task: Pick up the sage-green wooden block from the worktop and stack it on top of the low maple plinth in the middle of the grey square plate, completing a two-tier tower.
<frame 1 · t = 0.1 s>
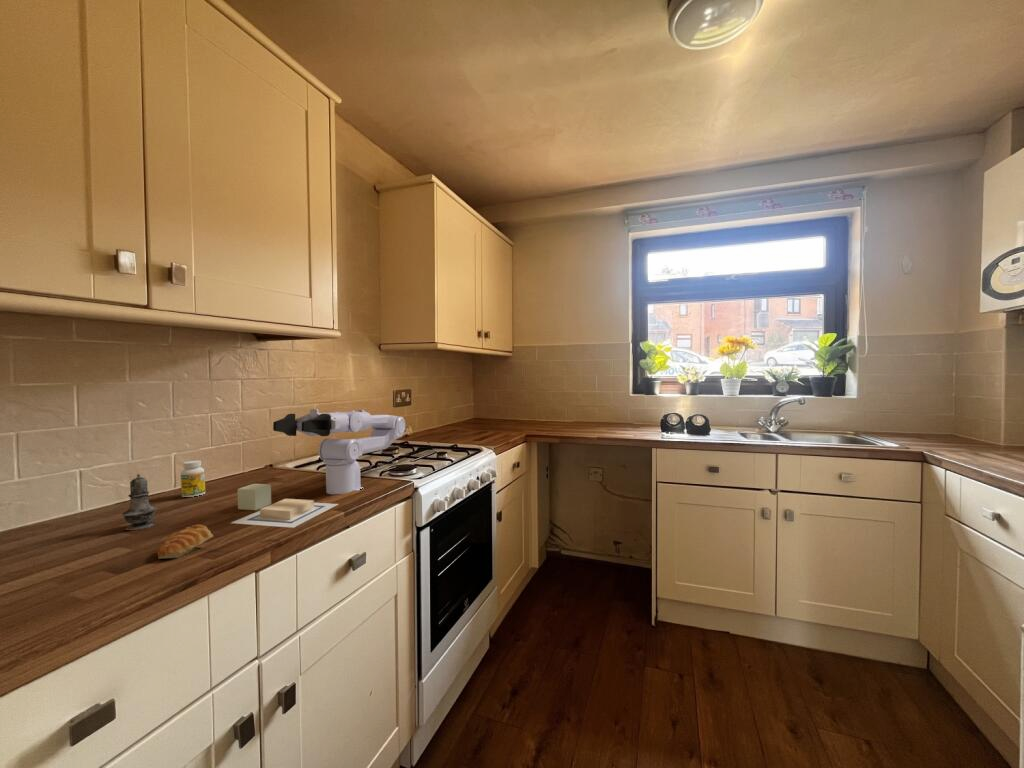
hand: (288, 426, 97), 22 cm above the worktop, tool horizontal, fingers open, 7 cm apart
pastry: (186, 550, 81), on the worktop
sage block: (255, 510, 103), on the worktop
supplement bottle: (193, 496, 117), on the worktop
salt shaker: (140, 527, 93), on the worktop
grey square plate: (288, 517, 98), on the worktop
maple plinth: (287, 512, 98), resting on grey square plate
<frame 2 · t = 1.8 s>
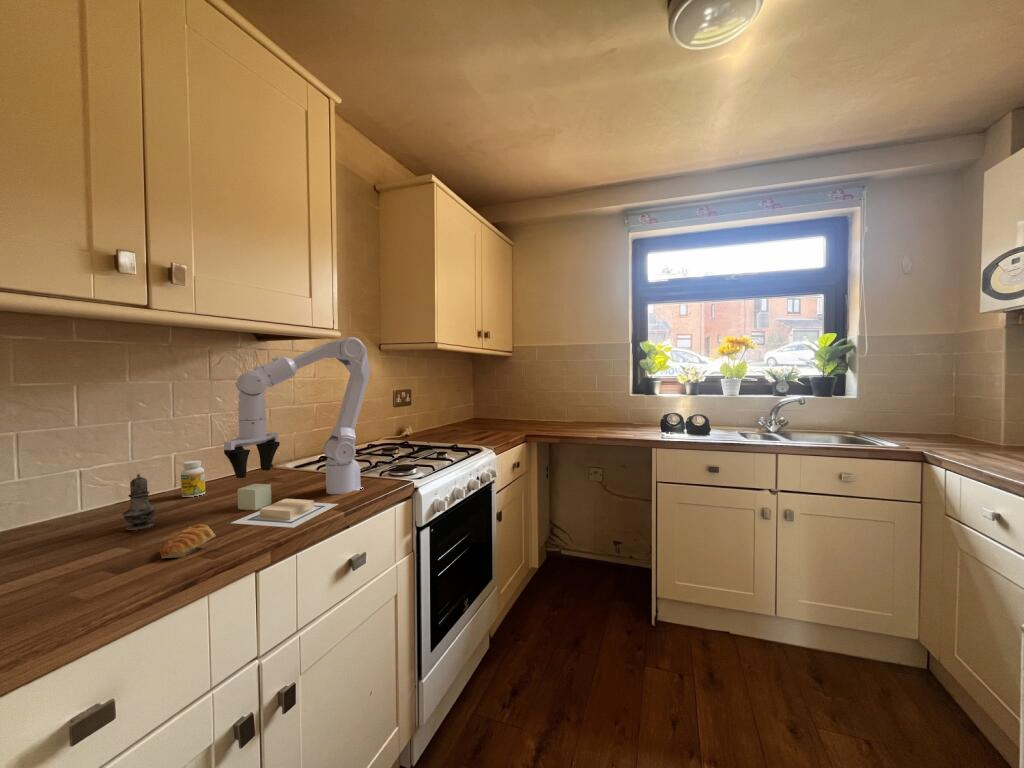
hand: (253, 473, 103), 9 cm above the worktop, tool pointing down, fingers open, 7 cm apart
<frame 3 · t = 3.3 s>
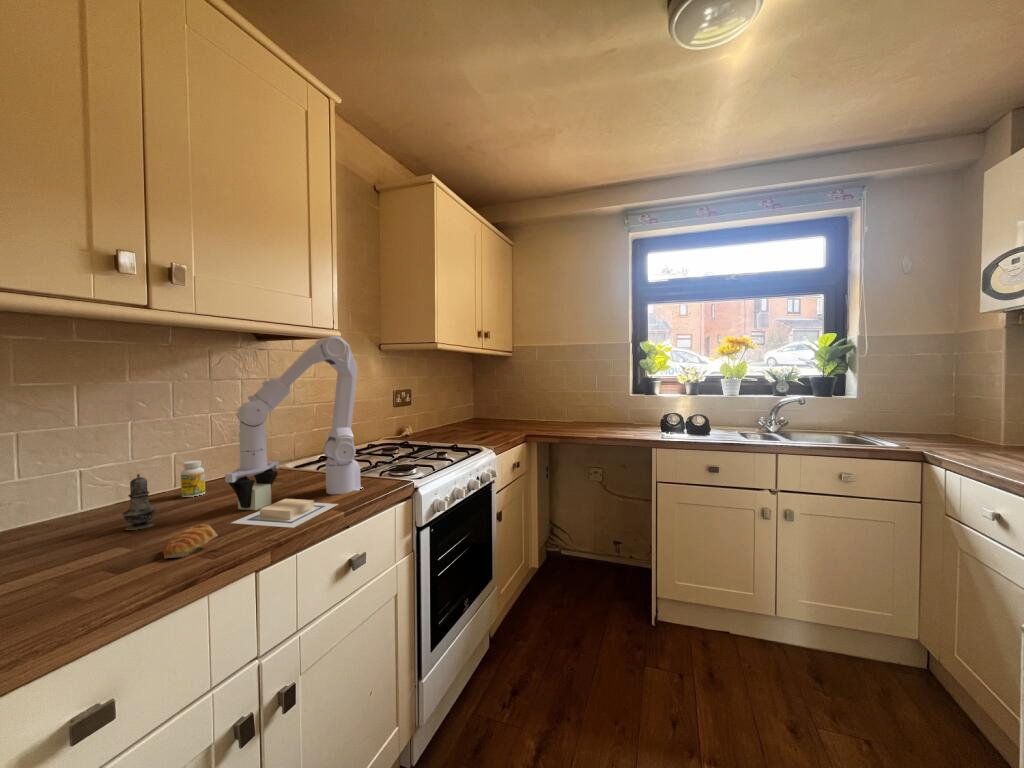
hand: (254, 503, 103), 2 cm above the worktop, tool pointing down, fingers closed on sage block, 5 cm apart
sage block: (255, 510, 103), on the worktop, touching gripper
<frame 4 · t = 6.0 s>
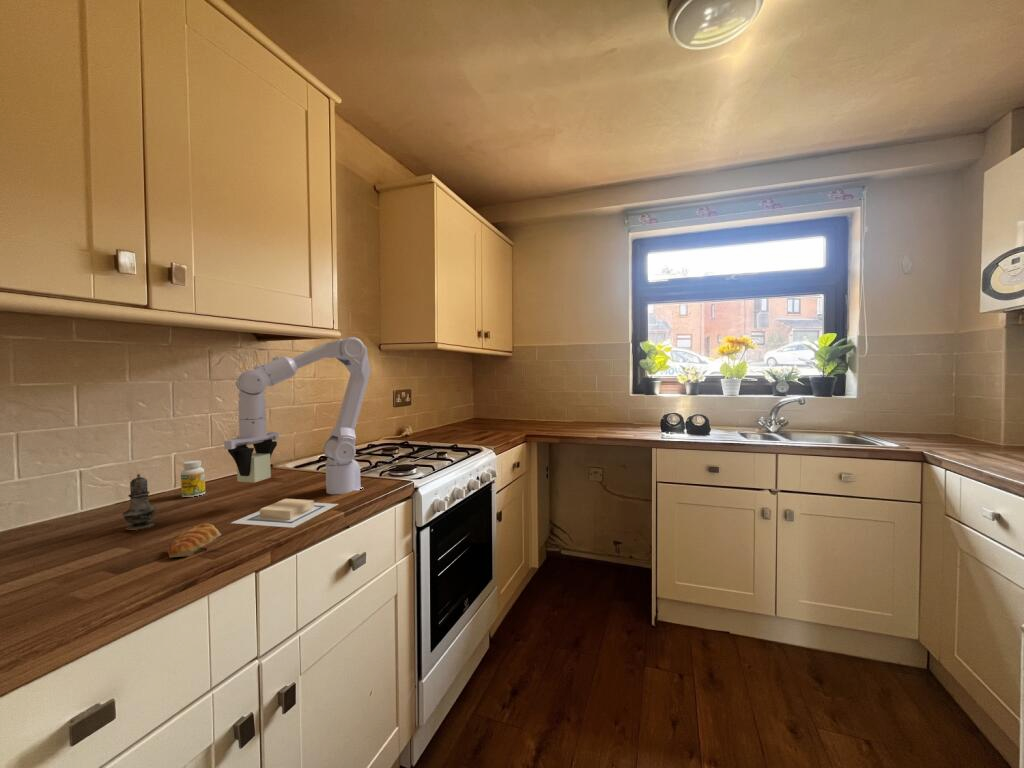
hand: (254, 472, 103), 9 cm above the worktop, tool pointing down, fingers closed on sage block, 5 cm apart
sage block: (254, 479, 103), point 8 cm above the worktop, touching gripper
when the fingers open (6 cm above the worktop, at t = 8.7 s): sage block drops 1 cm, resting on maple plinth.
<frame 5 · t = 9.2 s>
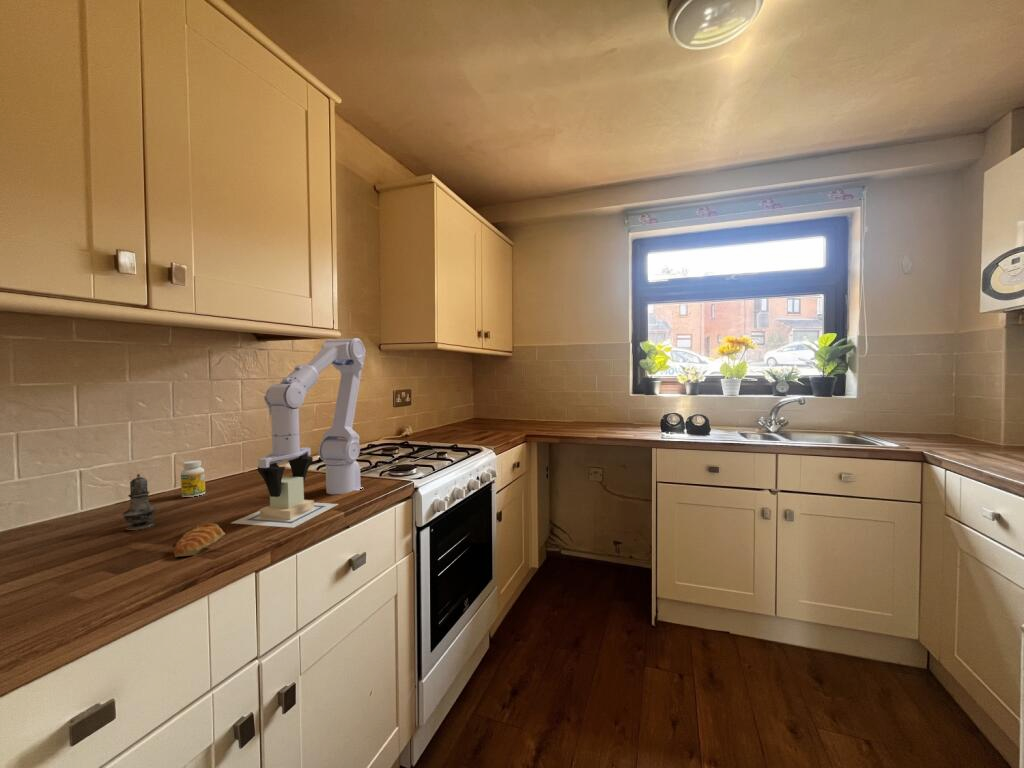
hand: (287, 491, 98), 6 cm above the worktop, tool pointing down, fingers open, 7 cm apart
sage block: (287, 504, 98), point 3 cm above the worktop, touching maple plinth
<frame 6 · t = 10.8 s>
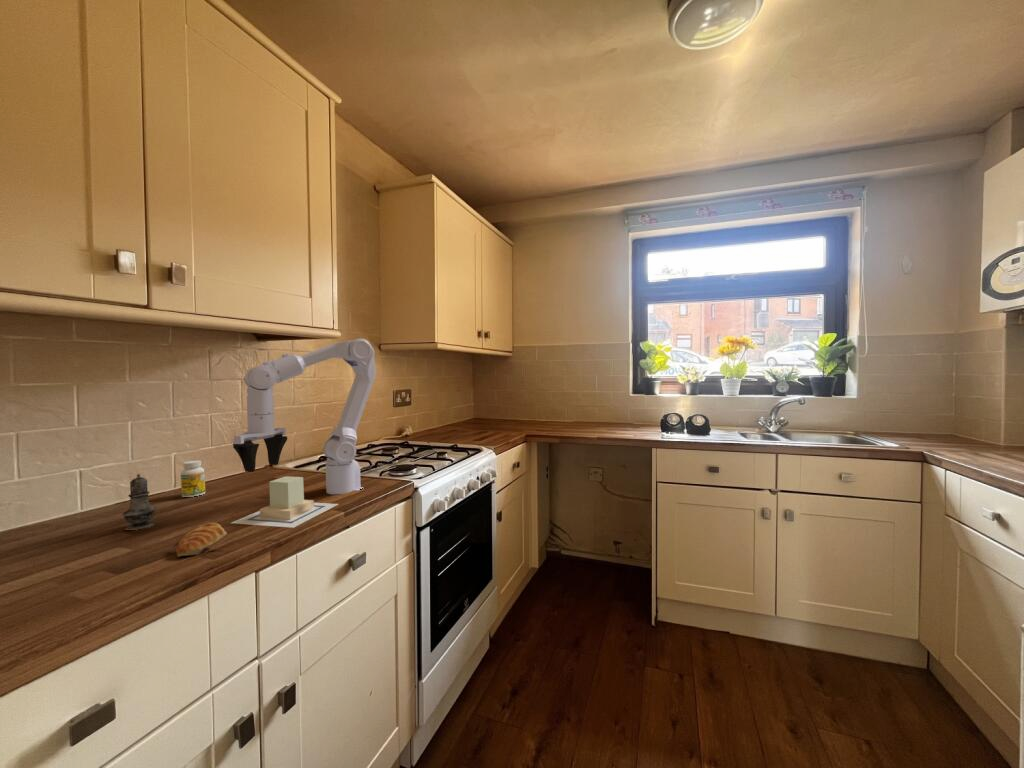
hand: (262, 468, 104), 10 cm above the worktop, tool pointing down, fingers open, 7 cm apart
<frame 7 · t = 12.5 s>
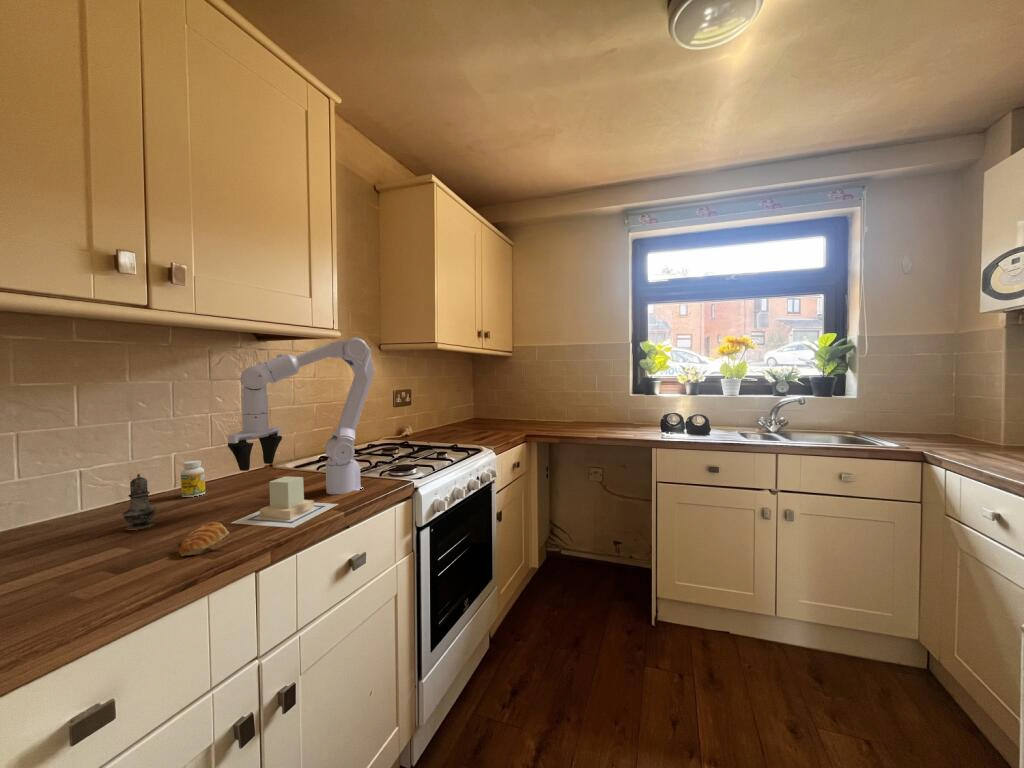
hand: (256, 466, 105), 10 cm above the worktop, tool pointing down, fingers open, 7 cm apart
at the end: sage block 0.1 cm off-centre on the maple plinth, point 2.0 cm above the maple plinth's base; sage block tilted 0°; the gripper is holding nothing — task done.
